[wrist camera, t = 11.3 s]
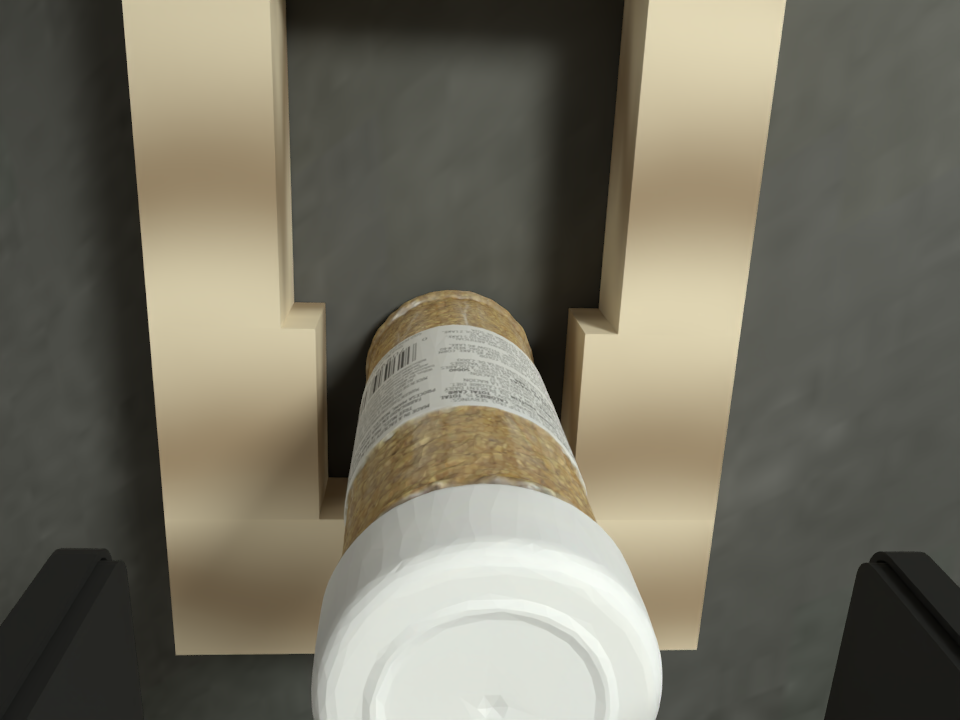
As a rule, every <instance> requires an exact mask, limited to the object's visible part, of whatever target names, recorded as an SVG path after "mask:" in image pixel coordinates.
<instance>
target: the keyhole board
mask: <svg viewBox="0 0 960 720" xmlns="http://www.w3.org/2000/svg"><path fill="white" fill-rule="evenodd" d="M785 5H786V0H625V2H624V13H623V25H622V37H621V49H620V61H619V73H618V85H617V96H616V108H615V120H614V132H613V144H612V156H611V168H610V180H609V191H608V203H607V215H606V227H605V239H604V251H603V263H602V274H601V286H600V298H599V309H597V308H569V314H568V327H567V341H566V354H565V368H564V382H563V395H562V409H561V423H560V424H561V426H562V429H563V431H564V434H565V436H566V439H567V441H568V444H569V446H570V448H571V451H572V453H573V456H574V458H575V461H576V463H577V466H578V468H579V471H580V473H581V476H582V478H583V481H584V484H585V487H586V491H587V499H588V502H589V504H590V506H591V509H592V511H593V514H594V517H595V519H596V521H597V523H598V525H599V526H600V527H602V529H603V530H604V531H605V532H606V533H607V534H608V535H609V536H610V537H611V539H612V540H613V541H614V543H615V544H616V545H617V547H618V548H619V550H620V551H621V553H622V555H623V557H624V559H625V561H626V563H627V565H628V567H629V569H630V571H631V574H632V576H633V579H634V581H635V583H636V586H637V588H638V591H639V593H640V595H641V598H642V600H643V603H644V605H645V607H646V610H647V613H648V616H649V618H650V621H651V624H652V627H653V630H654V633H655V636H656V639H657V642H658V646H659V650H697V643H698V636H699V629H700V622H701V614H702V607H703V600H704V593H705V585H706V578H707V571H708V564H709V556H710V549H711V542H712V535H713V527H714V520H715V513H716V506H717V498H718V491H719V484H720V476H721V469H722V462H723V455H724V447H725V440H726V433H727V426H728V418H729V411H730V404H731V397H732V389H733V382H734V375H735V368H736V360H737V353H738V346H739V339H740V331H741V324H742V317H743V310H744V302H745V295H746V288H747V281H748V273H749V266H750V259H751V252H752V244H753V237H754V230H755V222H756V215H757V208H758V201H759V193H760V186H761V179H762V172H763V164H764V157H765V150H766V143H767V135H768V128H769V121H770V114H771V106H772V99H773V92H774V85H775V77H776V70H777V63H778V56H779V48H780V41H781V34H782V27H783V19H784V12H785ZM122 7H123V19H124V31H125V44H126V56H127V68H128V80H129V92H130V104H131V116H132V129H133V141H134V153H135V165H136V177H137V189H138V201H139V214H140V226H141V238H142V250H143V262H144V274H145V286H146V299H147V311H148V323H149V335H150V347H151V359H152V372H153V384H154V396H155V408H156V420H157V432H158V444H159V457H160V469H161V481H162V493H163V505H164V517H165V529H166V542H167V554H168V566H169V578H170V590H171V602H172V614H173V627H174V639H175V651H176V655H227V654H315V645H316V639H317V632H318V626H319V619H320V613H321V607H322V602H323V597H324V594H325V591H326V588H327V585H328V582H329V580H330V578H331V575H332V573H333V571H334V570H335V568H336V566H337V564H338V562H339V560H340V559H341V557H342V552H343V544H344V534H345V524H344V509H345V499H346V492H347V485H348V479H349V478H345V477H328V432H327V372H326V312H325V303H302V302H294V279H293V243H292V207H291V172H290V136H289V100H288V65H287V29H286V0H122Z"/></svg>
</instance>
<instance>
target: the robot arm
mask: <svg viewBox="0 0 960 720" xmlns="http://www.w3.org/2000/svg"><path fill="white" fill-rule="evenodd" d="M0 720H144V716H143V707H142V699H141V690H140V681H139V673H138V664H137V655H136V647H135V638H134V629H133V621H132V612H131V603H130V594H129V586H128V577H127V570H126V566H125V564H124V562H123V561H112V558H111V555H110V553H109V551H108V550H107V549H80V548H61V549H56V550H55V551H54V552H53V553H52V555H51V556H50V557H49V559H48V560H47V562H46V563H45V564H44V566H43V567H42V569H41V570H40V571H39V573H38V574H37V576H36V577H35V578H34V580H33V581H32V583H31V584H30V585H29V587H28V588H27V590H26V591H25V592H24V594H23V595H22V597H21V598H20V599H19V601H18V602H17V604H16V605H15V606H14V608H13V609H12V611H11V612H10V613H9V615H8V616H7V618H6V619H5V620H4V622H3V623H2V625H1V626H0ZM824 720H960V588H959V587H958V586H957V585H956V584H955V583H954V582H953V581H952V580H951V579H950V577H949V576H948V575H947V574H946V573H945V572H944V571H943V570H942V569H941V568H940V567H939V566H938V565H937V564H936V563H935V562H934V561H933V560H932V559H931V558H930V557H929V556H928V555H926V554H925V553H923V552H877V553H875V554H874V555H873V556H872V558H871V559H870V562H869V563H863V564H861V566H860V567H859V569H858V571H857V575H856V579H855V584H854V588H853V593H852V597H851V602H850V606H849V611H848V615H847V620H846V624H845V628H844V633H843V637H842V642H841V646H840V651H839V655H838V660H837V664H836V669H835V673H834V678H833V682H832V687H831V691H830V696H829V700H828V705H827V709H826V714H825V718H824Z"/></svg>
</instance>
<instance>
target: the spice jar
mask: <svg viewBox="0 0 960 720" xmlns="http://www.w3.org/2000/svg"><path fill="white" fill-rule="evenodd" d="M344 524H345V534H344V544H343V552H342V557H341V559H340V560H339V562H338V564H337V566H336V568H335V570H334V571H333V573H332V575H331V578H330V580H329V582H328V585H327V588H326V591H325V594H324V597H323V602H322V607H321V613H320V619H319V626H318V632H317V639H316V645H315V655H314V664H313V673H312V686H311V699H312V714H313V718H314V720H655V719H656V716H657V713H658V710H659V705H660V700H661V694H662V663H661V655H660V651H659V646H658V642H657V639H656V636H655V633H654V630H653V627H652V624H651V621H650V618H649V616H648V613H647V610H646V607H645V605H644V603H643V600H642V598H641V595H640V593H639V591H638V588H637V586H636V583H635V581H634V579H633V576H632V574H631V571H630V569H629V567H628V565H627V563H626V561H625V559H624V557H623V555H622V553H621V551H620V550H619V548H618V547H617V545H616V544H615V543H614V541H613V540H612V539H611V537H610V536H609V535H608V534H607V533H606V532H605V531H604V530H603V529H602V527H600V526H599V525H598V523H597V521H596V519H595V517H594V514H593V511H592V509H591V506H590V504H589V502H588V499H587V491H586V487H585V484H584V481H583V478H582V476H581V473H580V471H579V468H578V466H577V463H576V461H575V458H574V456H573V453H572V451H571V448H570V446H569V444H568V441H567V439H566V436H565V434H564V431H563V429H562V426H561V424H560V421H559V418H558V416H557V413H556V411H555V408H554V406H553V404H552V401H551V399H550V397H549V394H548V392H547V389H546V387H545V385H544V383H543V380H542V378H541V376H540V374H539V372H538V370H537V368H536V367H535V365H534V359H533V355H532V350H531V348H530V345H529V343H528V340H527V337H526V334H525V332H524V330H523V328H522V326H521V325H520V324H519V323H518V322H517V321H516V320H515V319H514V318H513V317H512V316H511V314H510V313H509V312H508V311H507V310H506V309H504V308H503V307H501V306H500V305H499V304H497V303H496V302H494V301H493V300H491V299H489V298H486V297H484V296H481V295H479V294H476V293H473V292H471V291H458V290H444V291H436V292H431V293H428V294H425V295H422V296H418V297H416V298H414V299H412V300H410V301H407V302H405V303H404V304H403V305H401V306H400V307H399V309H397V310H396V311H394V312H393V313H392V314H391V315H390V316H389V317H388V318H387V320H386V321H385V323H384V324H383V325H382V326H380V328H379V329H378V330H377V332H376V334H375V336H374V338H373V340H372V344H371V346H370V349H369V352H368V355H367V359H366V386H365V390H364V393H363V396H362V401H361V406H360V412H359V418H358V425H357V431H356V437H355V443H354V449H353V455H352V461H351V467H350V472H349V479H348V485H347V492H346V499H345V509H344Z"/></svg>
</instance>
